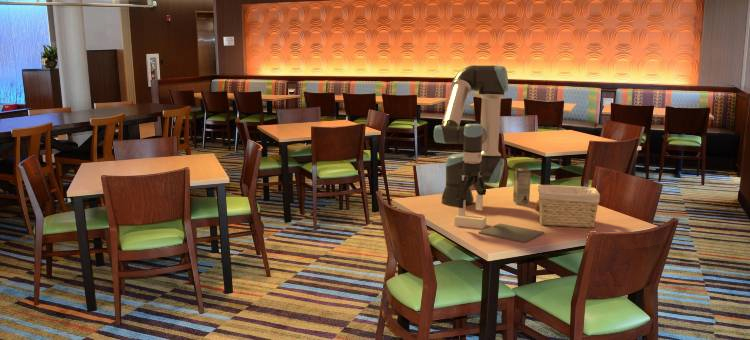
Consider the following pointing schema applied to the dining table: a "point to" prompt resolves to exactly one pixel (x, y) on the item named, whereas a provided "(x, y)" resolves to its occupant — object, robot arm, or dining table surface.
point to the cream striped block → (470, 221)
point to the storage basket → (568, 205)
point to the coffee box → (521, 186)
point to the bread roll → (537, 205)
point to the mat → (512, 233)
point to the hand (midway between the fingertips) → (470, 212)
